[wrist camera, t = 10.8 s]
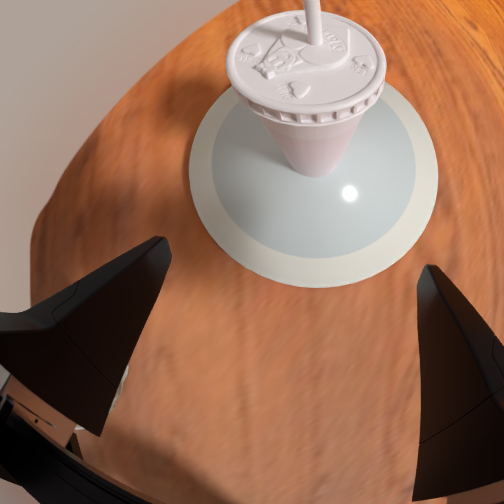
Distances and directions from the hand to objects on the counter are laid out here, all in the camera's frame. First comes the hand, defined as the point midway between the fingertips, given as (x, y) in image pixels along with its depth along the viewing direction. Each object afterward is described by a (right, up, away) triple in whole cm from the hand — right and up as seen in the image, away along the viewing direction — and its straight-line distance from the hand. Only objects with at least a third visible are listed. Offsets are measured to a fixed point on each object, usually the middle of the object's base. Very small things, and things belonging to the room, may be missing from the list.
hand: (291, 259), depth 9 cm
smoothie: (+3, +7, +9) cm, 12 cm away
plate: (+3, +7, +10) cm, 13 cm away
